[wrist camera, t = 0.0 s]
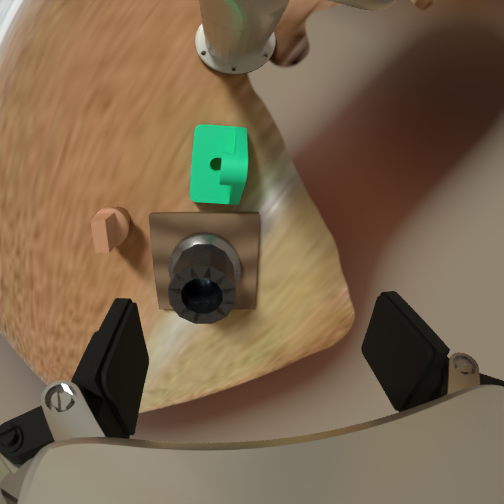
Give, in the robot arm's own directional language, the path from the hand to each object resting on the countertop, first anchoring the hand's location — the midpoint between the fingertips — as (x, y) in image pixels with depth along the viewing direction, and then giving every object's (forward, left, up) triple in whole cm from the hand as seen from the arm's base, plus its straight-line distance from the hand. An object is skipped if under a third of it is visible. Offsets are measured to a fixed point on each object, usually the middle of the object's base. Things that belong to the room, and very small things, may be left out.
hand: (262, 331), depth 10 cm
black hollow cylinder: (+14, -4, -35) cm, 38 cm away
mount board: (+14, -4, -37) cm, 40 cm away
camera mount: (-3, -2, -37) cm, 37 cm away
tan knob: (+6, -19, -37) cm, 42 cm away
